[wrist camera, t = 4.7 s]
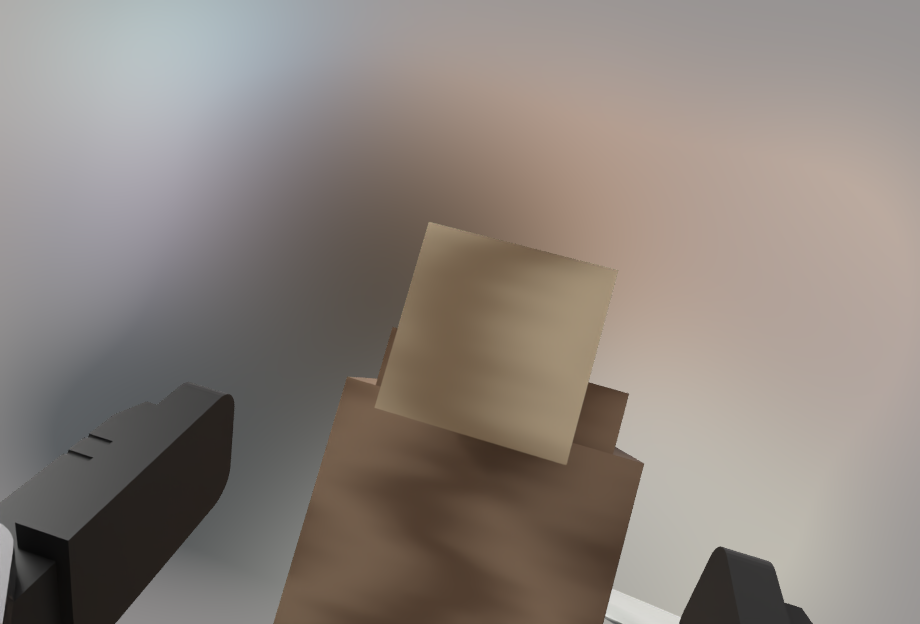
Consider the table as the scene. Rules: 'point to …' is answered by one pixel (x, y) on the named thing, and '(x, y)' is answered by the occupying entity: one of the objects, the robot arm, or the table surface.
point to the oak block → (497, 341)
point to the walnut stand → (459, 522)
